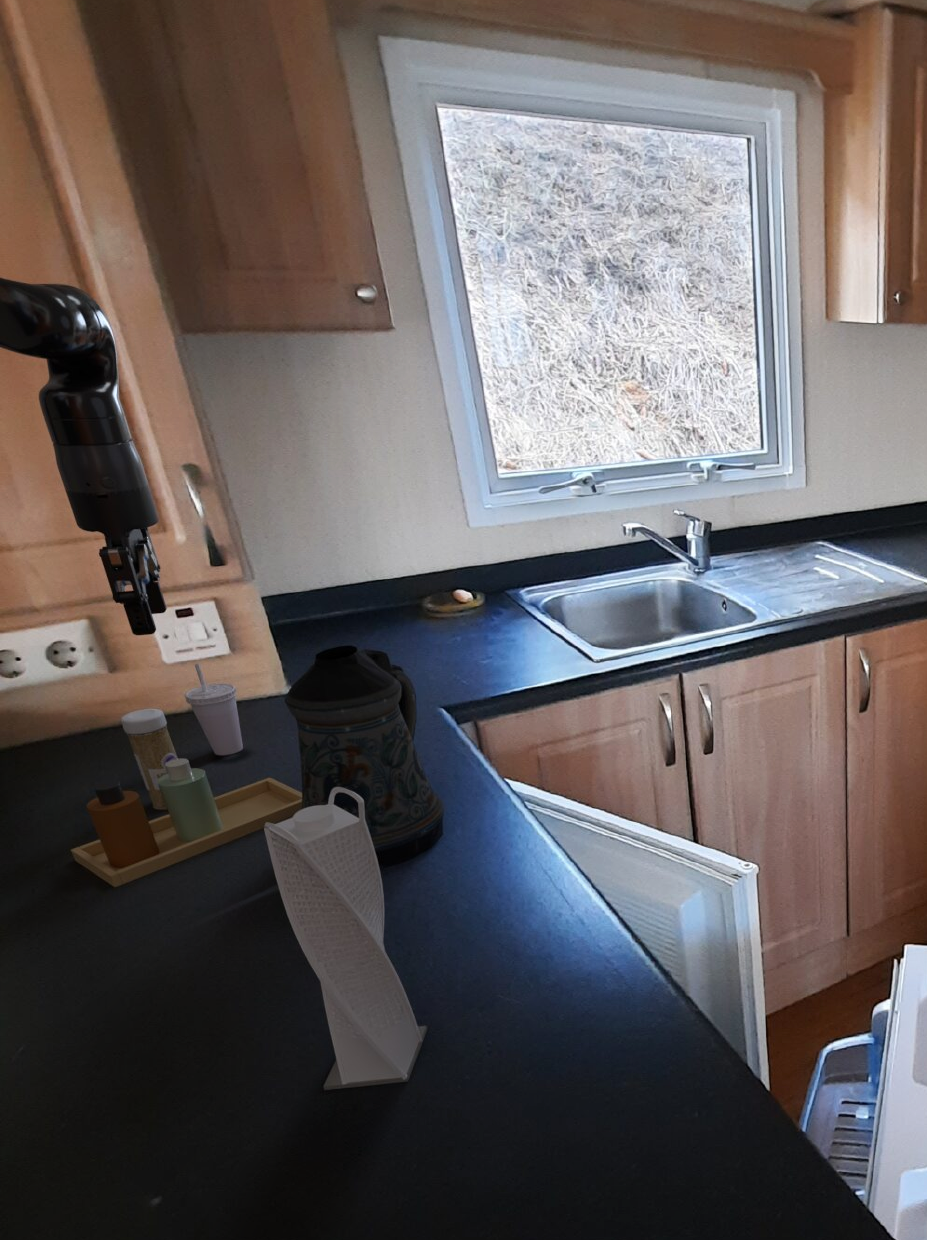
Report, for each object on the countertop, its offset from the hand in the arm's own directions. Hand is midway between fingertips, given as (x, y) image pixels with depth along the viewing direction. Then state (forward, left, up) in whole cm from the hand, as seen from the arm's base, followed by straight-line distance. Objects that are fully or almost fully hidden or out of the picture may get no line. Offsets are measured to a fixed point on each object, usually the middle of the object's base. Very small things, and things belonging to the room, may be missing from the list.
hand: (151, 623), depth 116 cm
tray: (-3, -2, -28) cm, 28 cm away
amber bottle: (-10, -2, -27) cm, 29 cm away
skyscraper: (-14, -59, -28) cm, 66 cm away
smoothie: (+12, +22, -28) cm, 38 cm away
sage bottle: (-3, -2, -27) cm, 27 cm away
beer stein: (+10, -20, -28) cm, 35 cm away
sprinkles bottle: (-1, +10, -28) cm, 30 cm away
